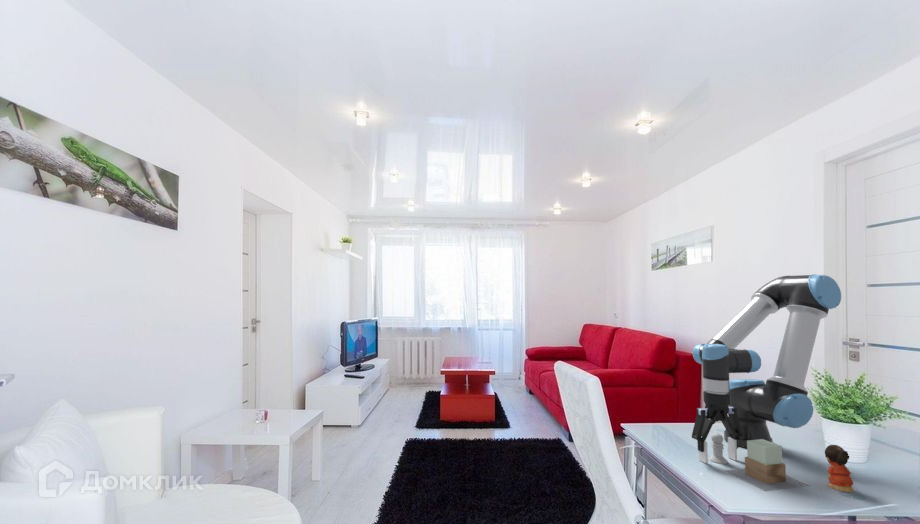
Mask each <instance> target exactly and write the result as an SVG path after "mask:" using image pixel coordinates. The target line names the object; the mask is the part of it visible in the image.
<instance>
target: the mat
mask: <svg viewBox="0 0 920 524" xmlns="http://www.w3.org/2000/svg"><path fill="white" fill-rule="evenodd" d="M723 472H726V473H727V474H730V475H731V476H733V477H736V478H737V479H740V480H742V481H744V482H745V483H748V484H750V485H751V486H754V487H756V488H758V489H760V490H763V491H765V492H769V491H777V490H778V491H779V490H785V489H793V488H794V489H795V488H802V487H811V484H808V483H805V482H803V481H801V480H798V479H796V478H794V477H792V476H790V475H787V474H786V482H779V483H770V484H766V483H764V482H761V481H759V480H757V479H755V478H753V477H751V476H749V475H747V474H745V467H744V468H736V469H726V470H725V469H724V470H723Z"/></svg>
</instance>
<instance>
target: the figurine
mask: <svg viewBox="0 0 920 524" xmlns="http://www.w3.org/2000/svg"><path fill="white" fill-rule="evenodd" d="M824 456H825V458H826V460H827V462H828V464H829V465H830V466H829V467H828V470H827V473H828V475H827V479H828V482H829V483H827V487H829V488H831V489H833V490H836V491H841V492H847V493H853V492H854V491H855V490H854V488H853V487H852V486H853V485H854V481H853V478H852V476H851V475H852V472H850V470H849V468H848V467H847V466H846V464H847V463H849V462H848V460H849V459H850V456H849V453H848V451H847V450H845V449H844V448H843V447H841V446H840V445H837V444H829V445H828V446H827V447H826V448H825V449H824Z"/></svg>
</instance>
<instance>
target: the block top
mask: <svg viewBox="0 0 920 524" xmlns="http://www.w3.org/2000/svg"><path fill="white" fill-rule="evenodd" d="M746 450H747V451H746V452H747V453H746V454H747V456H746V457H748V458H750V459H752V460H755V461H757V462H759V463H762V464H764V465H772V464H782V463H783V450H782V445H781V444H777V443H774V442H773V443H772V442H769V441H767V440H764V439H759V440H747V448H746Z"/></svg>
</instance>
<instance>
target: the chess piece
mask: <svg viewBox="0 0 920 524" xmlns="http://www.w3.org/2000/svg"><path fill="white" fill-rule="evenodd" d="M711 442H712V443H711V447H712V455H711V456H709V457H708V461H710V462H712V463H715V464H719V465H720V464H721V465H727V464H728V462H729V461H728V459H727V458H726V457H724V456H723V454H724V453H723V450H725V449H724V444H723V442H724V436H723V435H721V434H720V433H718V432H717V433H716V432H715V433H712V435H711Z"/></svg>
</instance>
